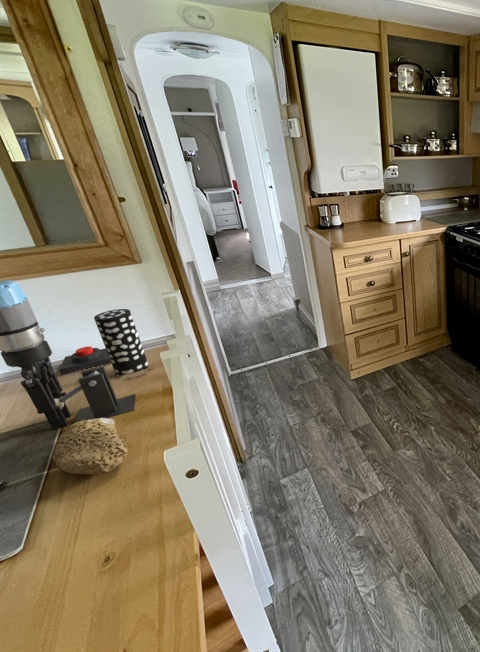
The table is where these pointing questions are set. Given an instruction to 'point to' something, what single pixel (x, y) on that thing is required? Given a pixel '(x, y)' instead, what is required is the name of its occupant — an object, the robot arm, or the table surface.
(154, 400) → the table surface
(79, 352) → the power button
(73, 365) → the red push button box
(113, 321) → the white-spotted black cylinder
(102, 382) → the lever base
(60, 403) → the switch lever
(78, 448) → the sponge
